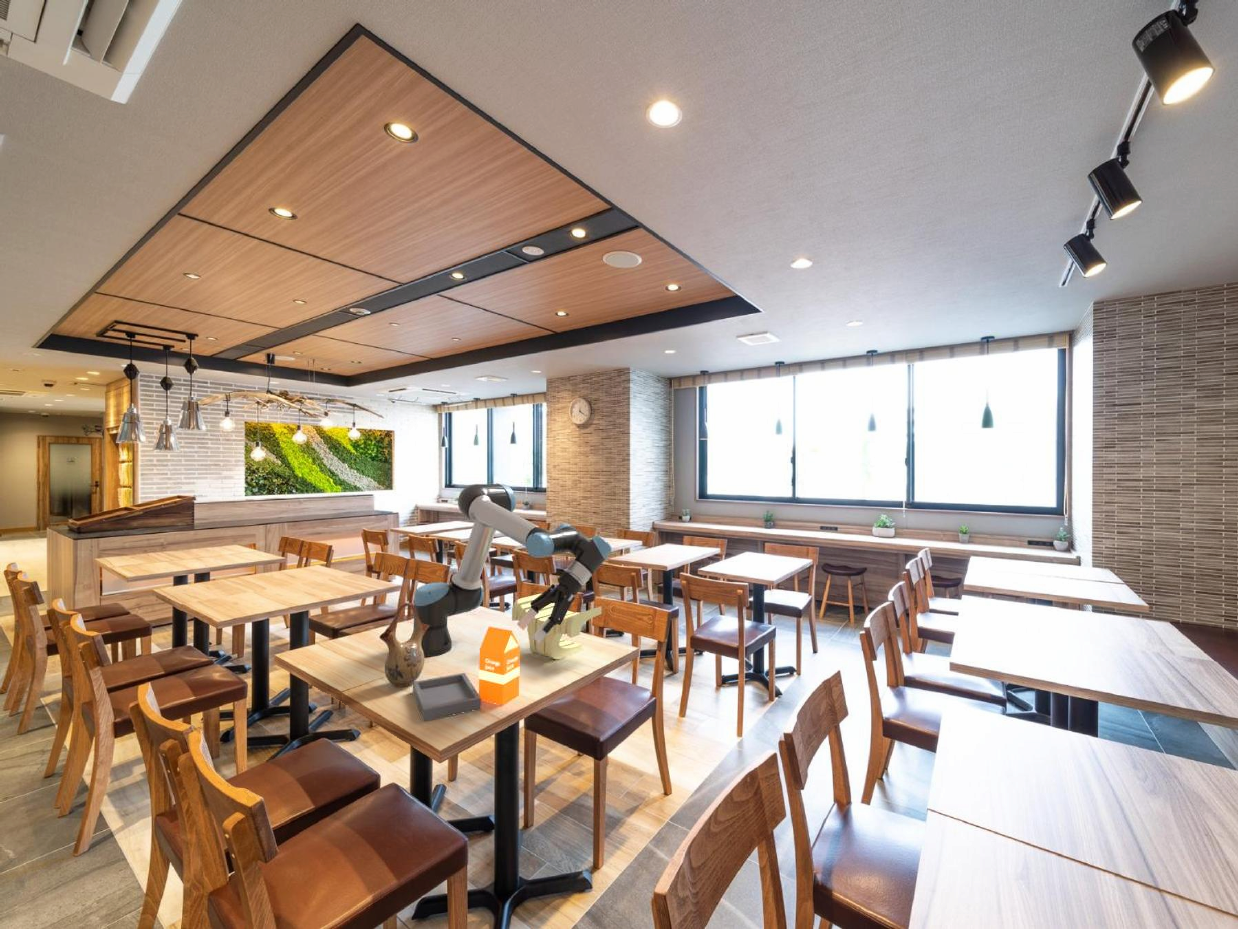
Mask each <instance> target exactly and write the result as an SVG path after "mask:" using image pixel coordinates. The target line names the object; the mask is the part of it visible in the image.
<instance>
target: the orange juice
mask: <svg viewBox="0 0 1238 929" xmlns="http://www.w3.org/2000/svg"><path fill="white" fill-rule="evenodd" d="M520 652H521V646H520V644H519V642H518V641H517V638H516V636H515V634H514V632H513V630H510V629H505V628H499V627H498V628H497V627H493V626H488V628H487V630H486V632H485V635H484V637H483V641H482V643H481V645H480V648H479V661H478V662H479V664H478V665H479V666H478V667H479V669H478V694H479V696H480V697H481V701H483V702H486V701H488V702H487V703H490V702H491V704H494V703H496V704H495V705H498V704H499V705H498V706H501V705H503V706H505V705H506V704H508V703H510V702H511V701H512V699H513V700H515V699H516V698H517V697H519V696H520V670H521V669H520V662H521V661H520V660H521V659H520V656H521V655H520V654H521V653H520ZM509 701H510V702H509Z"/></svg>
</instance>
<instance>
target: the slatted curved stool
mask: <svg viewBox="0 0 1238 929" xmlns="http://www.w3.org/2000/svg"><path fill="white" fill-rule="evenodd" d="M542 593H543V592H542ZM542 593H538V594H533V595H530V596H526V597H525V596H524V597H520V598H518V599H517V600H516V601H515V602H514V603H513V606H512V610H511V611H512V614H511V621H512V622H514V621H517V622H519V621H520V620H521V619H522V618H523V616H524V615H525V614H526V613H527V612H528V611H529V609H530V608H531V605H530V603H531V602H532V601H533V600H535V599H536V598H537V597H538V596H540V595H541V594H542ZM554 604H555V603H551V604H549V605H547V606H546V607H544V608H542V609H541V610H539V613H538V614H537V615H536V616H535V617H534V618H533V619H532V621H531V622H530V623H529V624H528V625H527V628H526V630H527V635H528V642H529V650H530V651H531V652H532V653H536V654H539V655H542V656H545V657H548V658H551V659H554V660H557V659H560V660H562V659H561V658H563V657H565V658H567V656H568V657H570V656H572V655H575V654H578V653H580V652H582V651H581V650H583V651H584V649H583V646H582V644H581V643H577V642H574V641H571V640H567V639H563V638H562V637H563V635H567V637H569V638H576V637H578V636H580V634H581V630H582V628H583V626H584V625H585V623H587V622H588V621H589V620H590V619H593V618H594V617H597V616H599V615H602V609H603V608H602V605H601V606H598V607H594V608H591V609H588V610H584V611H582V612H575V611H570V610H568V611H567V613H566V615H565V617H564V619H563V621H562V623H561V624H560V625H558V624H557V625H554V626H553V627H552V629H551V630H550V631H549V632H548V633H547V635H546V636H545V637H544V638H543V639H542V641H541V642H540V643H538V642H537V641H536V640H535V639H534V638H533V637H532V636H533V635H534V634H535V633H536V632H537V630H538V629H539V628H540V627H541V626H542V625H543V623H544V622H545V621H546V620H547V619H548V617H550V616H551V613H552V610H553V607H554ZM559 619H560V618H559ZM548 620H549V619H548ZM549 621H550V620H549ZM579 651H580V652H579ZM574 653H575V654H574ZM569 655H570V656H569ZM563 659H564V658H563Z"/></svg>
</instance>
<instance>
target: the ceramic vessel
mask: <svg viewBox="0 0 1238 929" xmlns="http://www.w3.org/2000/svg"><path fill="white" fill-rule="evenodd" d="M407 607H410V608H411V610H412V614H413V622H414V621H415V629H414V628H413V629H414V633H413V632H412V633H413V635H412V634H411V636H412V637H411V636H410V638H409V639H407V640H406V641H404V642H399V641H398V639H397V637H396V634H397V633H396V632H397V626H398V621H399V618H400V616H401V612H402V610H403V609H404V608H407ZM429 626H430V625H427V624H423V623H421V621H420V619H419V617H418V614H417V611H416V609H415V606H414V603H411V602H404V603H402V604H401V605H399V607H398V608H397V610H396V613H395V615H394V617H393V618H392V621H391V622H390V624H389V625H388V627H387V628H386V629H385V631H383V633H381V634H380V635H379V639H380V640H381V641H383V642H384V643H385V644H386V646H387V648H388V654H387V656H386V659H385V662H384V673H385V677H386V679H387V681H388V682H389V683H390V684H391V685H392V686H393V687H397V688H404V687H407V686H411V685H413V682H416V680H417V679H418V678H419V677H420V675H421V674H422V672H423V670H424V666H425V657H424V652H423V650H422V647H421V641H422V637H423V635H424V633H425V632H426V630H427V629H428V628H429Z"/></svg>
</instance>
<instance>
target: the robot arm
mask: <svg viewBox="0 0 1238 929" xmlns="http://www.w3.org/2000/svg"><path fill="white" fill-rule="evenodd" d="M516 504H517V499H516V495H515V492H514V491H513V489H512V488H511V487H510V486H509V485H507V484H503V483H487V484H486V483H485V484H484V483H482V484H481V483H475V484H469V485H468V486H466V487H464V488H463V489H462V490H461V492H460V493H459V495H458V499H457V505H458V506H457V507H458V509H459V512H460V513H461V514H462V515H463V516H465V517H466V518H468V519H469V520H471V521H473V525H472V529H471V532H470V534H469V537H468V541H467V543H466V546H465V547H466V548H465V550H464V553H463V556H462V559H461V561H460V566H459V569H458V570H457V572H456V573H454V574H453V575H452V576H451V579H450V582H449V584H448V583H446V582H443V581H442V582H440V581H439V582H430V583H426V584H423V585H421V586H419V587H418V588H417V589H416V590H415V592H414V600H413V605H414V606H415V609H416V611H417V614H418V617H419V619H420V621H421V623H423V624H427V625H430V626H429V628H428V629H427V630H426V632H425V633H424V635H423V637H422V641H421V647H422V650H423V652H424V658H425V657H435V656H439V655H442V654H445V653H447V652H449V651H451V650H452V649H453V648H452V647H453V641H452V638H451V635H450V631H449V628H448V617H452V616H455V615H460V614H463V613H468V612H472V611H474V610H476V609H477V608H479V607H480V606H481V605H482V602H483V601H484V598H485V592H484V590H485V589H484V586H483V582H482V580H481V576H482V573H483V570H484V567H485V563H486V561H487V558H488V556H489V553H490V549H491V546H492V544H493V541H494V537H495V534H496V533H497V532H499V533H501V534H503V535H504V536H505V537H507V538H510V539H511V540H513V541H515V542H517V543H519V544H520V545H522V546H524V547H525V550H526V551H527V553H528V555H530V557H532V558H535V559H536V558H537V559H539V558H541V559H542V558H543V559H544V558H547V557H551V556H557V555H561V554H567V553H569V554H570V555H572V556H574V557H575V559H573V561H571V563H570V564H569V565H568V566H567V567H566V569H565V571H563V572H562V574H560V576H559V577H557V578H558V579H557V583H558V585H557V586H556V585H555V584H554V583H552V584H551V585H550V586H549V587H548V589H546V590H545V591H544V592H542V594H541V593H540V594H541V595H540V596H538V597H537V598H536V599H535V600H533V601H532V602H531V603H530V605H531V608H530V609H529V611H528V612H527V613H526V614H525V615H524V616H523V618H522V619H521V620H520V621H517V623H516V625H517V626H518V627H519V628H520V629H521V630H523V631H524V630H525V629H527V628H526V627H527V625H528V624H529V623H530V622H531V621H532V619H533V618H534V617H535V616H536V615H537V614H538V613H539V610H541V609H542V608H544V607H546V606H547V605H549V604H551V603H555V604H554V607H553V610H552V613H551V616H550V617H548V619H549V620H550V621H549V620H548V619H547V620H546V621H545V622H544V623H543V625H542V626H541V627H540V628H539V629H538V630H537V632H536V633H535V634H534V635H533V636H532V637H533V638H534V639H535V640H536V641H537V642H538V643H540V642H541V641H542V639H543V638H544V637H545V636H546V635H547V633H548V632H549V631H550V630H551V629H552V627H553V626H554V625H557V624H558V625H560V624H561V623H562V621H563V619H564V617H565V615H566V613H567V611H569V608H570V607H571V605H572V603H573V602H574V601H575V599H576V597H575V596H577V594H578V593H579V592H580V591H581V589H582V588H583V586H584V585H586V583H587V582H588V581H590V579H591V577H592V576H593V575H594V573H595V572H596V571H597V570H598V569H599V568H600V567H601V565H602V564H603V563H604V562H606V560H607V558H608V557H609V555H610V554H611V553H612V549H613V547H612V546H611V544H610V543H609V542H608V541H607V540H606V539H605V538H604V537H603V536H600V535H597V534H596V535H594V536H593V537H592V538H590V537H588V536H586V535H585V534H583V533H582V532H581V531H580V530H578V529H576V528H575V527H574V526H572V525H571V524H568V523H561V524H560V525H558V526H557V527H556V528H555V529H554V530H551V531H550V530H546V529H544V528H542V527H540V526H538V525H536V524H534V523H532V522H531V521H529V520H527V519H525V518H523V517H522V516H519V515H518V514H515V513H514V510H515V508H516ZM496 531H497V532H496ZM559 618H560V619H559ZM414 629H415V621H414V620H413V630H412V632H411V635H410V638H411V637H412V635H413V633H414Z"/></svg>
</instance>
